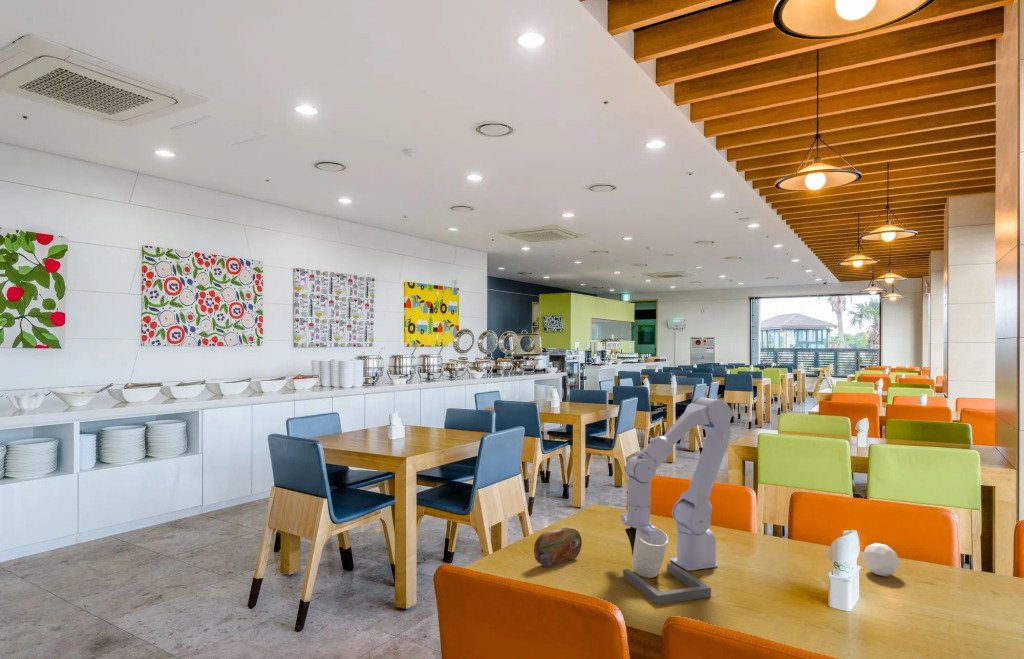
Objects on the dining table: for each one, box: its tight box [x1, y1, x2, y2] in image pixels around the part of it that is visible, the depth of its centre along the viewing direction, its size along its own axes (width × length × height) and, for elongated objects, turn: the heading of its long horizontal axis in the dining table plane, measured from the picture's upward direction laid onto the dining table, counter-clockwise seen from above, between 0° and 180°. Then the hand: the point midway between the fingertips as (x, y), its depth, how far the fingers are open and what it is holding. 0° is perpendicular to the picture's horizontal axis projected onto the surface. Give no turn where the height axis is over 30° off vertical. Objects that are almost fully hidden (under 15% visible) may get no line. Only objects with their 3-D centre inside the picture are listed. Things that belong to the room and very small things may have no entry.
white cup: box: [631, 526, 669, 579], centre depth 144 cm, size 8×8×10 cm
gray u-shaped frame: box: [622, 562, 712, 606], centre depth 137 cm, size 14×16×2 cm
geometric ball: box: [862, 542, 900, 577], centre depth 145 cm, size 8×8×8 cm
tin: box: [533, 527, 583, 568], centre depth 152 cm, size 15×3×8 cm, turn 126°
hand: (637, 557), depth 148 cm, fingers closed, pressing on white cup
